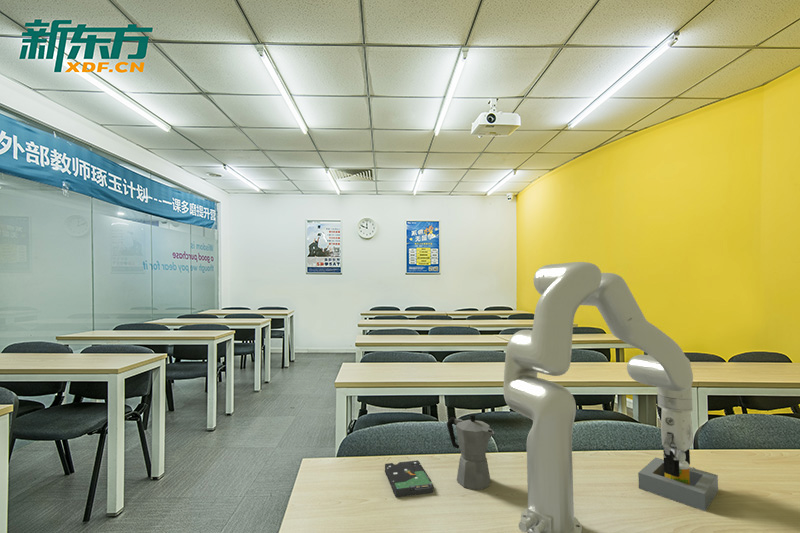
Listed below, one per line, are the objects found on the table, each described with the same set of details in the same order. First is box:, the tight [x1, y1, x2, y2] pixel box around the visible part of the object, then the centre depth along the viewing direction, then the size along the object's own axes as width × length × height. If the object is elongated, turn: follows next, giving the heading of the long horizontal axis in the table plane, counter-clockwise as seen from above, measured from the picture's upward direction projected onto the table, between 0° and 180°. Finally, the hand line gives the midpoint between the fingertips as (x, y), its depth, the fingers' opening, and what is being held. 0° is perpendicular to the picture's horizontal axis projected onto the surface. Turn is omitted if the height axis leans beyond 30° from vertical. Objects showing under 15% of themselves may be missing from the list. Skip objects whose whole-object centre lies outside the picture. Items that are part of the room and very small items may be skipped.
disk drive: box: [384, 459, 434, 499], centre depth 106 cm, size 10×3×15 cm
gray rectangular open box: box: [637, 456, 719, 512], centre depth 104 cm, size 23×14×4 cm, turn 131°
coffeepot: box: [446, 413, 496, 491], centre depth 107 cm, size 15×9×18 cm, turn 45°
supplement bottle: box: [665, 450, 690, 485], centre depth 101 cm, size 5×5×10 cm
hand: (677, 468), depth 101 cm, fingers open, 9 cm apart
